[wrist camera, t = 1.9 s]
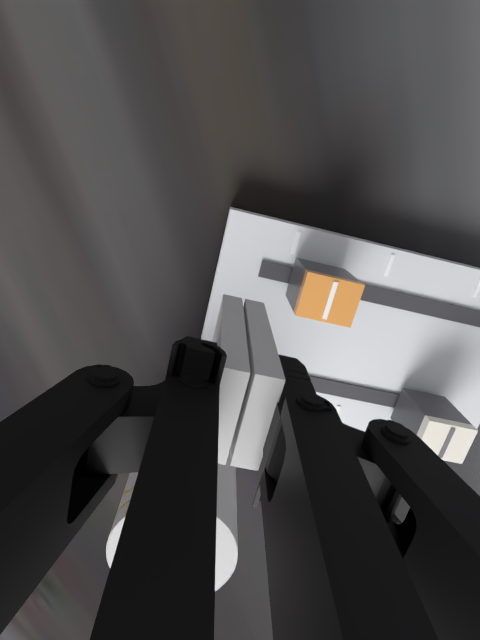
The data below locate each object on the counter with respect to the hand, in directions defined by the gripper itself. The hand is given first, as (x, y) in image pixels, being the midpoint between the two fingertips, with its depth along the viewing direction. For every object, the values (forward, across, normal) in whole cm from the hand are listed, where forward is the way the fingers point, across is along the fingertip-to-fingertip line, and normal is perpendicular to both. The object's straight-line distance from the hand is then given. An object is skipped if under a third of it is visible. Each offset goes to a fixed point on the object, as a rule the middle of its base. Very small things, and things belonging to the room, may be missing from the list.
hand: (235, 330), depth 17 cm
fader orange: (+14, +6, 0) cm, 15 cm away
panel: (+16, +11, -4) cm, 20 cm away
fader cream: (+14, +17, -8) cm, 23 cm away
